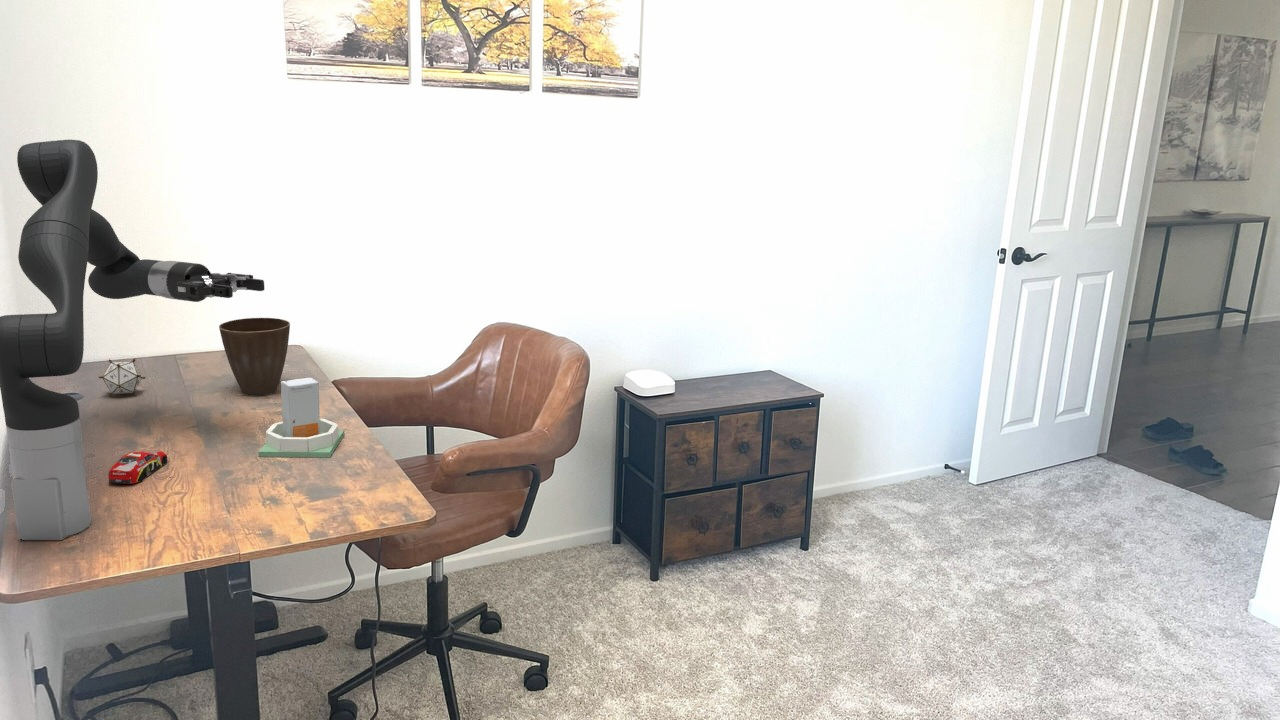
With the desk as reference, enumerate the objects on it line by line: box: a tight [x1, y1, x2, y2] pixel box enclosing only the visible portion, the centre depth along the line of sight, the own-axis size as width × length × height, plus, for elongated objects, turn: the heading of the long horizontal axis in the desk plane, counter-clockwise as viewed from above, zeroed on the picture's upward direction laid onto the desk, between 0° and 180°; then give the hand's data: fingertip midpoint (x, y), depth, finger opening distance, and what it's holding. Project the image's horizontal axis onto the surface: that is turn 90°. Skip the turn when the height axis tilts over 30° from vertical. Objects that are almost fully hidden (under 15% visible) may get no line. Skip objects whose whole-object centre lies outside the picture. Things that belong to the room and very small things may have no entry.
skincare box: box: [280, 377, 321, 437], centre depth 177 cm, size 6×4×12 cm
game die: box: [98, 358, 146, 398], centre depth 204 cm, size 9×8×10 cm
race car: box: [107, 449, 168, 485], centre depth 161 cm, size 13×5×4 cm, turn 0°
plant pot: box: [218, 317, 291, 396], centre depth 209 cm, size 15×15×16 cm
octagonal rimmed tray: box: [258, 418, 345, 458], centre depth 178 cm, size 13×13×4 cm
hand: (247, 288), depth 175 cm, fingers open, 8 cm apart
